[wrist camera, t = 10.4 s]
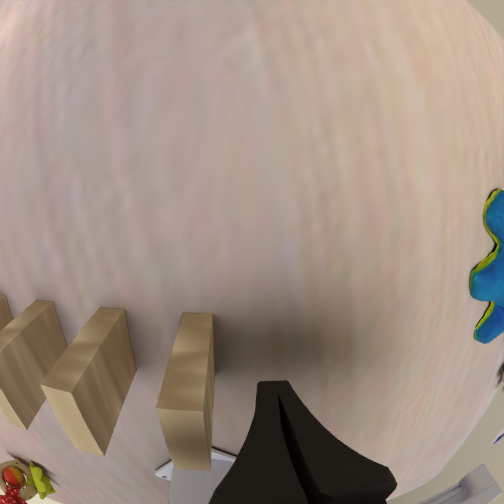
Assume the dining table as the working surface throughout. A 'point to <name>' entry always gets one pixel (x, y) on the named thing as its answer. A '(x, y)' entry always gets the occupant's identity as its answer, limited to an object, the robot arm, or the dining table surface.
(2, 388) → the domino
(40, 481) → the bird rattle
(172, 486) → the robot arm
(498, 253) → the plush toy
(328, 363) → the dining table surface
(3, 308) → the domino
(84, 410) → the domino
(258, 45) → the dining table surface
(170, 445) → the domino
